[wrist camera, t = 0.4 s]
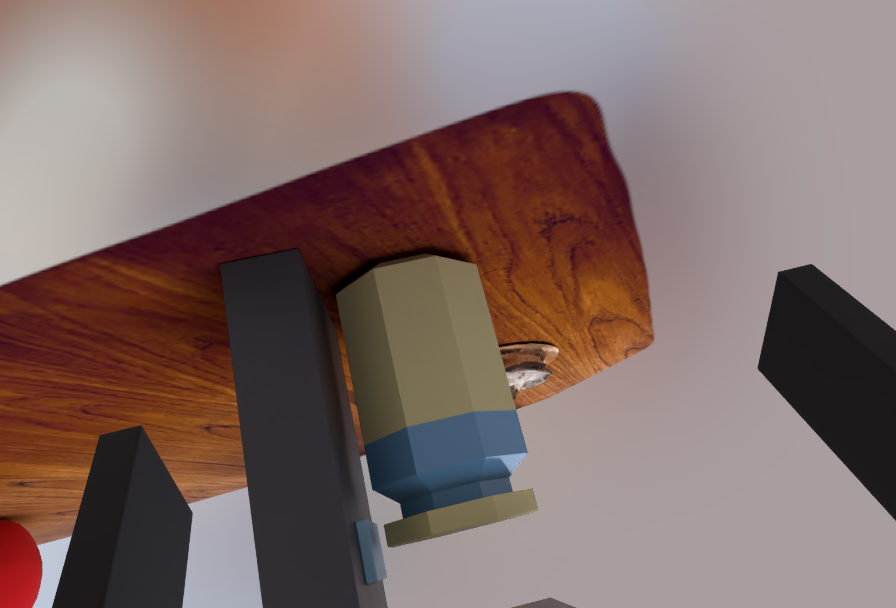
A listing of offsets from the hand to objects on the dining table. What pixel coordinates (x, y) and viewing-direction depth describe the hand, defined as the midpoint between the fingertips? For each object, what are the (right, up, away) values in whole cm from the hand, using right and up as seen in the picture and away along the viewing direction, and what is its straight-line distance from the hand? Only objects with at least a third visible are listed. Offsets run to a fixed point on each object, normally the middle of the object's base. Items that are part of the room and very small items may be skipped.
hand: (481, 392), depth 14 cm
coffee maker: (-6, +3, +27) cm, 28 cm away
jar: (-3, +4, +27) cm, 28 cm away
